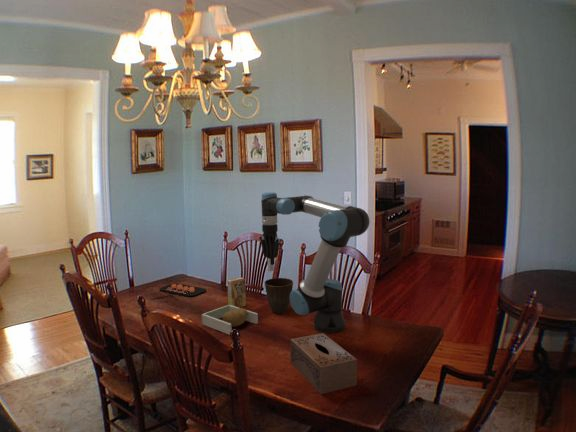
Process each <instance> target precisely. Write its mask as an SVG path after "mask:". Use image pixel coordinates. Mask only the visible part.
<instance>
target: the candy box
mask: <svg viewBox="0 0 576 432" xmlns="http://www.w3.org/2000/svg"><path fill="white" fill-rule="evenodd" d="M246 301H247V300H246V278H243V277H237V278H232V279H228V280H227V302H228V304H227V305H232V306H235V307H238V308H243V307H245V306H246Z"/></svg>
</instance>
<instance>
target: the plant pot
mask: <svg viewBox="0 0 576 432" xmlns="http://www.w3.org/2000/svg"><path fill="white" fill-rule="evenodd" d="M264 287H265V293H266V297H267V300H268V303H269V306H270V309H271V312H272V313H274V314H277V315H280V314H284V313H286V312H287V310H288V308H289V305H290V293H291V292H292V291H293V288H294V281H293V280H292V279H290V278H286V277H285V278H284V277H275V278H269V279H267V280H265V281H264Z"/></svg>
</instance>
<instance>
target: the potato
mask: <svg viewBox="0 0 576 432" xmlns="http://www.w3.org/2000/svg"><path fill="white" fill-rule="evenodd" d="M247 314H248V313H247V309H245V308H243V307H238V309H234V310H231V311H229V312H227V313H225V314H224V315H223V317H222V321H225V322H227V323H230V324H231V326H232V328H237V327H240V326H241V325H243V324H244V323H245V321H246V318H247Z"/></svg>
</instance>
